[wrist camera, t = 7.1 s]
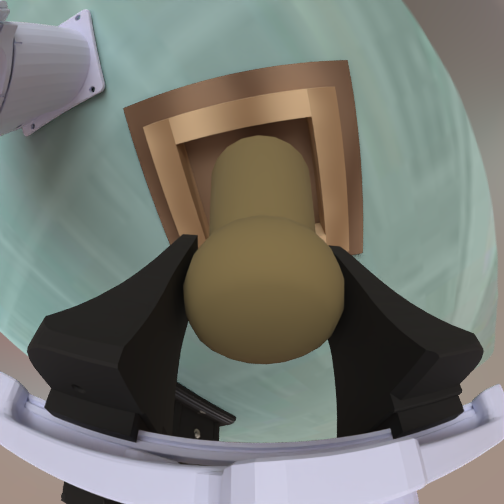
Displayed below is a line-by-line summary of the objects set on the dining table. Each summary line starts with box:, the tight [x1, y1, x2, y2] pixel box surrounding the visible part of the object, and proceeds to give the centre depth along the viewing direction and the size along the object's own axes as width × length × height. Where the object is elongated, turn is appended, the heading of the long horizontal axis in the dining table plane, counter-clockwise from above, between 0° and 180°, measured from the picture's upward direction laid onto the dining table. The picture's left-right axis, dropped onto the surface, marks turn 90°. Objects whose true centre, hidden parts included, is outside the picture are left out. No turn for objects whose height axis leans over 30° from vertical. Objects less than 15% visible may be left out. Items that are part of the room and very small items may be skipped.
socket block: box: [123, 60, 363, 255], centre depth 19 cm, size 16×16×2 cm
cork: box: [183, 135, 344, 364], centre depth 12 cm, size 6×6×11 cm
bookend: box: [61, 382, 236, 504], centre depth 29 cm, size 23×11×24 cm, turn 32°
